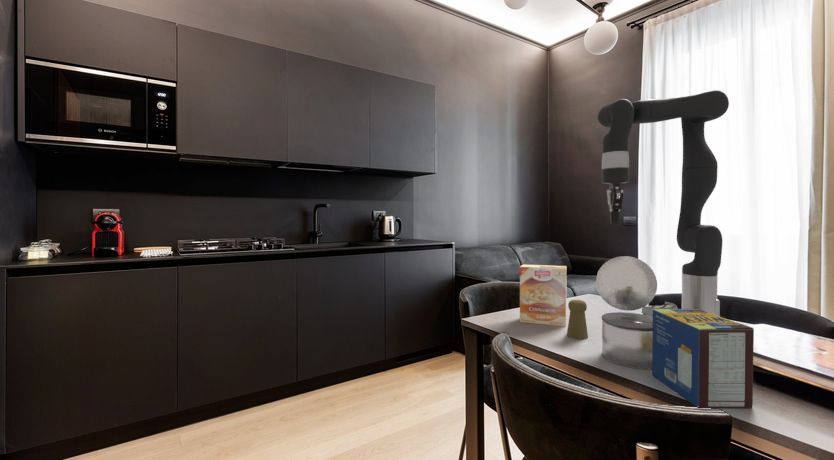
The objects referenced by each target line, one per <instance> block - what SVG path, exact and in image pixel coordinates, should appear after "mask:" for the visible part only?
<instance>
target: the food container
mask: <svg viewBox="0 0 834 460" xmlns="http://www.w3.org/2000/svg"><path fill="white" fill-rule="evenodd" d="M653 309H679V308H678V306H677V304H675V303H672V302H669V301H664V304H660V305H657V304H656V305H655V304H654V305H652V306H647V305H646V306H645V307H643V308H641V314H643V315H648V316H652V317H653Z"/></svg>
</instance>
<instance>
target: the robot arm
mask: <svg viewBox="0 0 834 460" xmlns="http://www.w3.org/2000/svg"><path fill="white" fill-rule="evenodd" d="M729 106H730V102H729V98H728V95H726V93H725V92H723V91H721V90H717V89H712V90H706V91H703V92H701V93H697V94H692V95H685V96H678V97H677V96H676V97H668V98H653V99H652V98H651V99H640V100H636V101H632V102H631V101H630V100H628V99H626V98H620V99H617V100H615V101H612V102H611V103H609V104H606V105H604V106H603V107H602V108H601V109H600V110H599V112H598V114H597V120H598V123H599V124H600V125H601V126H602V127H605V128H609V129H610V130H609V131H608V133H607V134H605V135H604V136H603V138H602V157H601V184H603V185H604V184H605V185H609V186H608V187H609V188H608V189H606V195H607V204H608V205H607V206H608V210H609V212H610V215H609V216H610V221H609V222H610V224H611V225H618V224H619V223H620V211H621V210H622V204H623V198H624V188H622V184H627V183H629V182H630V156H629V137H630V134H631V130H632V126H633V125H634V124H640V125H642V124H652V123H660V122H664V121H670V120H674V119H675V120H676V119H680V120H681V121H680V123H681V124H680V125H681V131H682V133H681V134H682V164H681V165H682V169H681V197H680V209H679V217H678V223H677V228H676V229H677V230H676V241H677V242H676V243H677V245H678V248H680V249H681V251H684V252H685V253H686V252H687V253H693V254H694V257H693V260H692V261H689V262H687V263H684V264H683V265H682V267H681V309H700V310H702V311H705V312H708V313H711V314H714V315H717V316H720V317H721V315H720V310H721V309H720V308H721V307H720V306H721V301H720V299H718V272H719V269H720V267H721V264H722V255H723V253H722V252H723V234H722V232H721V230H720V229H719V228H718V227H717V226H715V225H712V224H701V218H702V211H703V209H704V206H705V205H706V203H707V202H708V199H709V198H710V197H711V195H712V193H713V192H714V190H715V188H716V186H717V182H718V160H717V158H716V156H715V154H714V153H713V151H712V150H711V148H710V146H709V145H708V144H707V142H706V138H705V125H706V122H711V121H714V120H716V119H719V118H721V117H722V116H724V115H726V113H727V111H728V108H729Z"/></svg>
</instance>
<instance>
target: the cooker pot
mask: <svg viewBox="0 0 834 460" xmlns="http://www.w3.org/2000/svg"><path fill="white" fill-rule="evenodd" d="M601 321H602V323H601V324H602V328H601V329H602V330H601V331H602V332H601V333H602V335H601V344H602V345H601V353H602V354H601V355H602V357H603V358H604V359H606V360H607V361H609V362H612V363H614V364H617V365H619V366H623V367H628V368H632V367H633V369H640V368H643V370H652V338H653V317H652V316H648V315H643V313H634V312H622V311H619V312H616V311H615V312H607V313H604V314H602V315H601Z"/></svg>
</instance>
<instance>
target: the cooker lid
mask: <svg viewBox="0 0 834 460" xmlns="http://www.w3.org/2000/svg"><path fill="white" fill-rule="evenodd" d="M595 280H596V281H595V285H596V290H597V292H598V295H599V296H600V297H601V299H602V300H604V302H605V303H607V304H608V305H609V306H611V307H613V308H615V309H618V310H621V311H625V312H626V311H627V312H628V311H637V310H641V309H642V308H643V307H645V306H646V307H647V305H649V304H650V303H652V301H653V299H654V298H655V296H656V293H657V290H658V279H657V276H656V274H655V272H654V270H653V269H652V268H651V267H650V265H649V264H648V263H646V262H645V261H643V260H641V259H639V258H637V257H633V256H630V255H629V256H628V255H626V256H625V255H624V256H622V255H621V256H616V257H613V258H611V259H609V260H606V261H605V262H604V263H603V264H602V265H601V267H600V268H599V269H598V271H597V275H596V279H595Z"/></svg>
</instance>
